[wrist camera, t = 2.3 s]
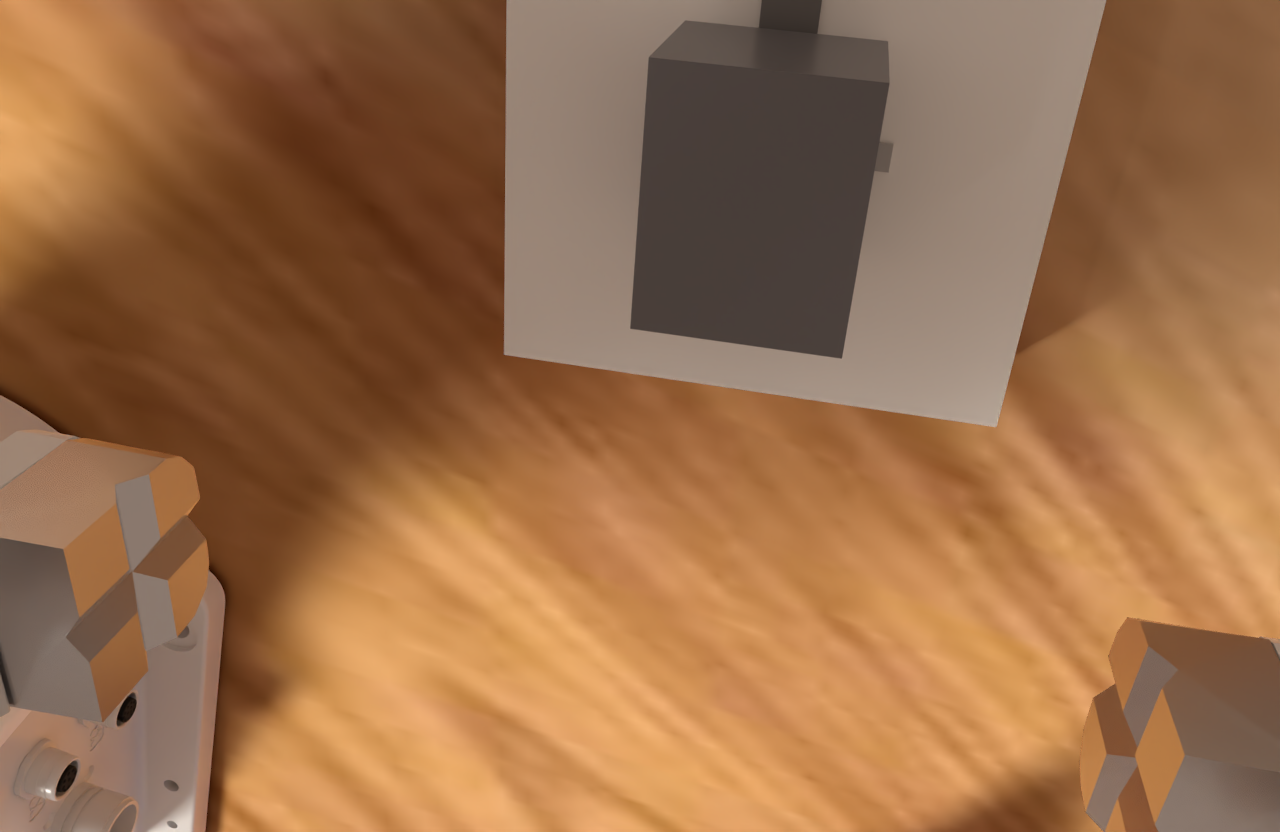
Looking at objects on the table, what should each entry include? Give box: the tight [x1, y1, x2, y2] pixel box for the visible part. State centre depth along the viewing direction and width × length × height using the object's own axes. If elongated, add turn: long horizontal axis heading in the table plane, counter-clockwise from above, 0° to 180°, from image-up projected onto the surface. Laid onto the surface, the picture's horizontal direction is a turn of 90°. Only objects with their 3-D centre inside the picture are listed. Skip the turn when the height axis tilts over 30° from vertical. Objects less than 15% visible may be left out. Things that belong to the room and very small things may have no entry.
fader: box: [630, 20, 890, 359], centre depth 21 cm, size 5×4×5 cm
